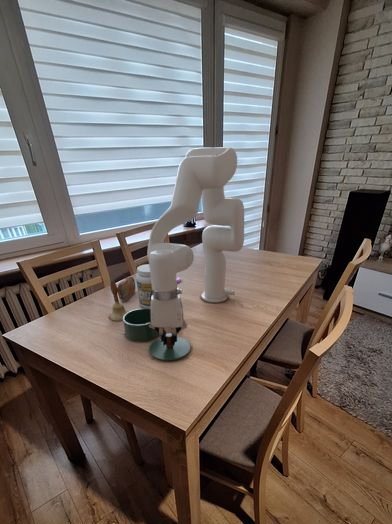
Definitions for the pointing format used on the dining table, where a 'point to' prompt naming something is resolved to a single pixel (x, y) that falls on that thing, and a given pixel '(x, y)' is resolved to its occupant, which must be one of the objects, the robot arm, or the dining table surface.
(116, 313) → the hand bell
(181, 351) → the tin lid
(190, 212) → the robot arm
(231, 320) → the dining table surface
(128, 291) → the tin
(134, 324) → the candle tin
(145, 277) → the supplement tub
